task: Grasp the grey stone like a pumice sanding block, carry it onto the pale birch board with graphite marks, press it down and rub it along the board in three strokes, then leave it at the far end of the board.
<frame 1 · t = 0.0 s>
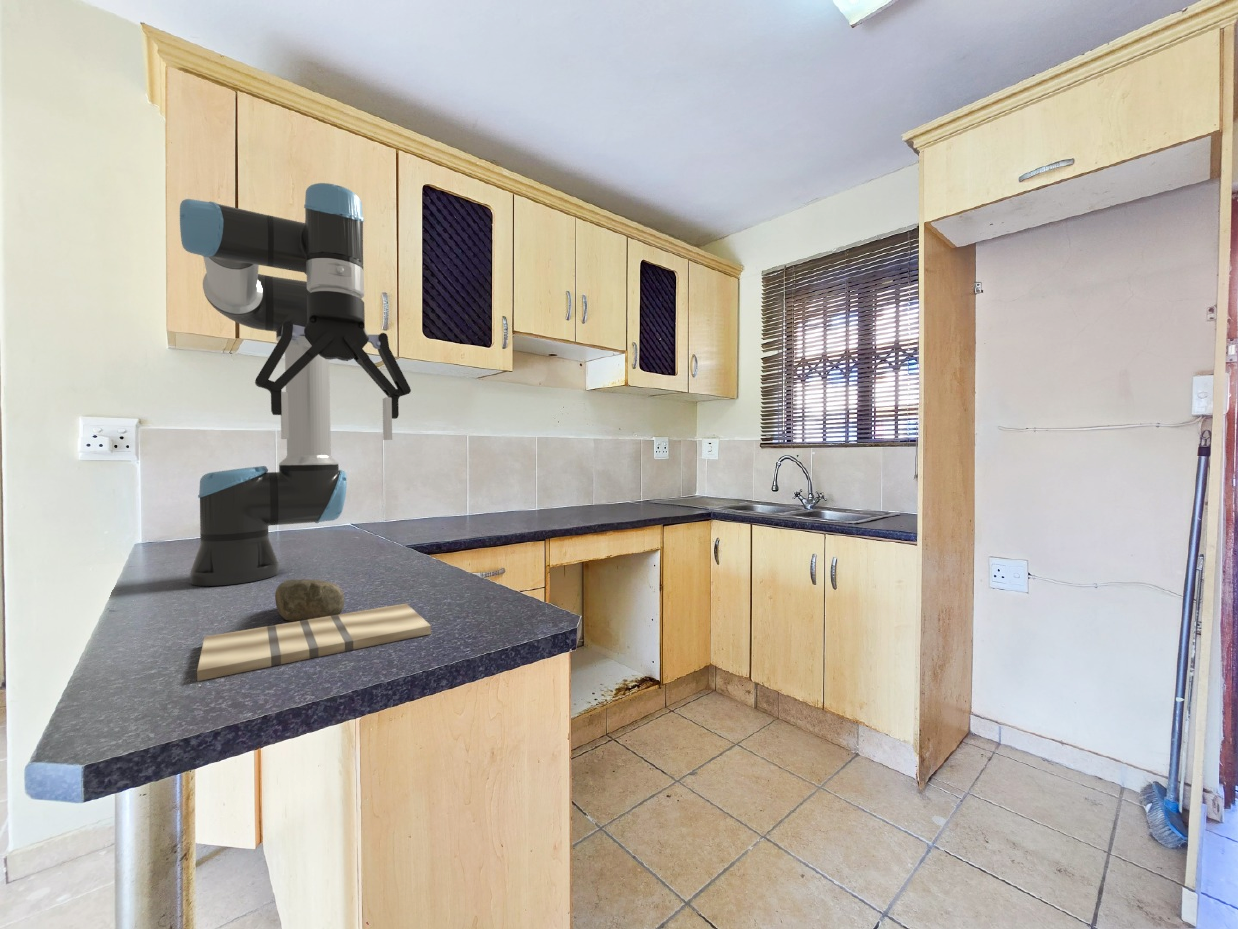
hand: (338, 439, 78), 28 cm above the table, fingers open, 13 cm apart
stone: (308, 615, 85), on the table
board: (320, 639, 73), on the table
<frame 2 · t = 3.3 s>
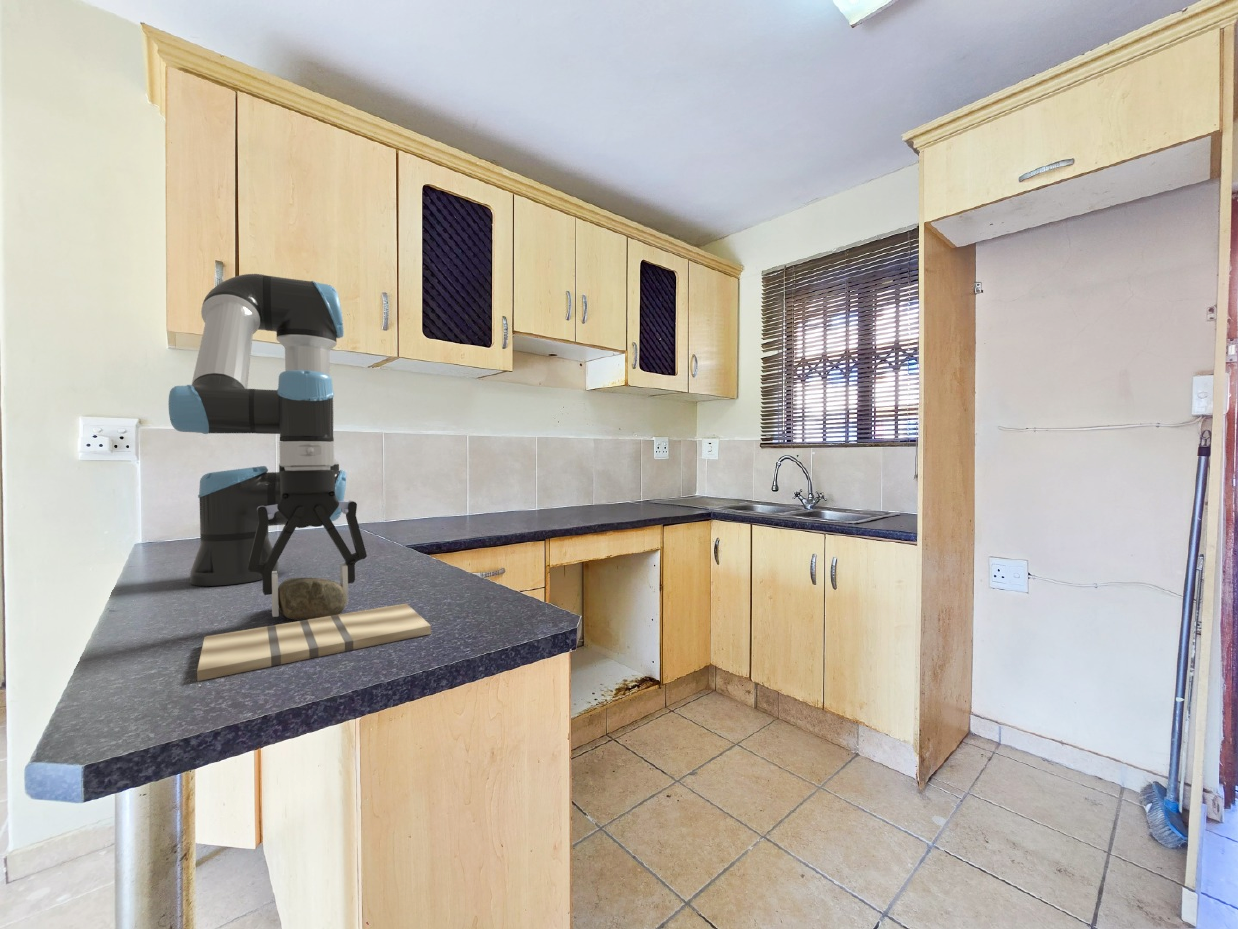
hand: (311, 608, 84), 1 cm above the table, fingers closed on stone, 9 cm apart
stone: (310, 614, 85), on the table, touching gripper
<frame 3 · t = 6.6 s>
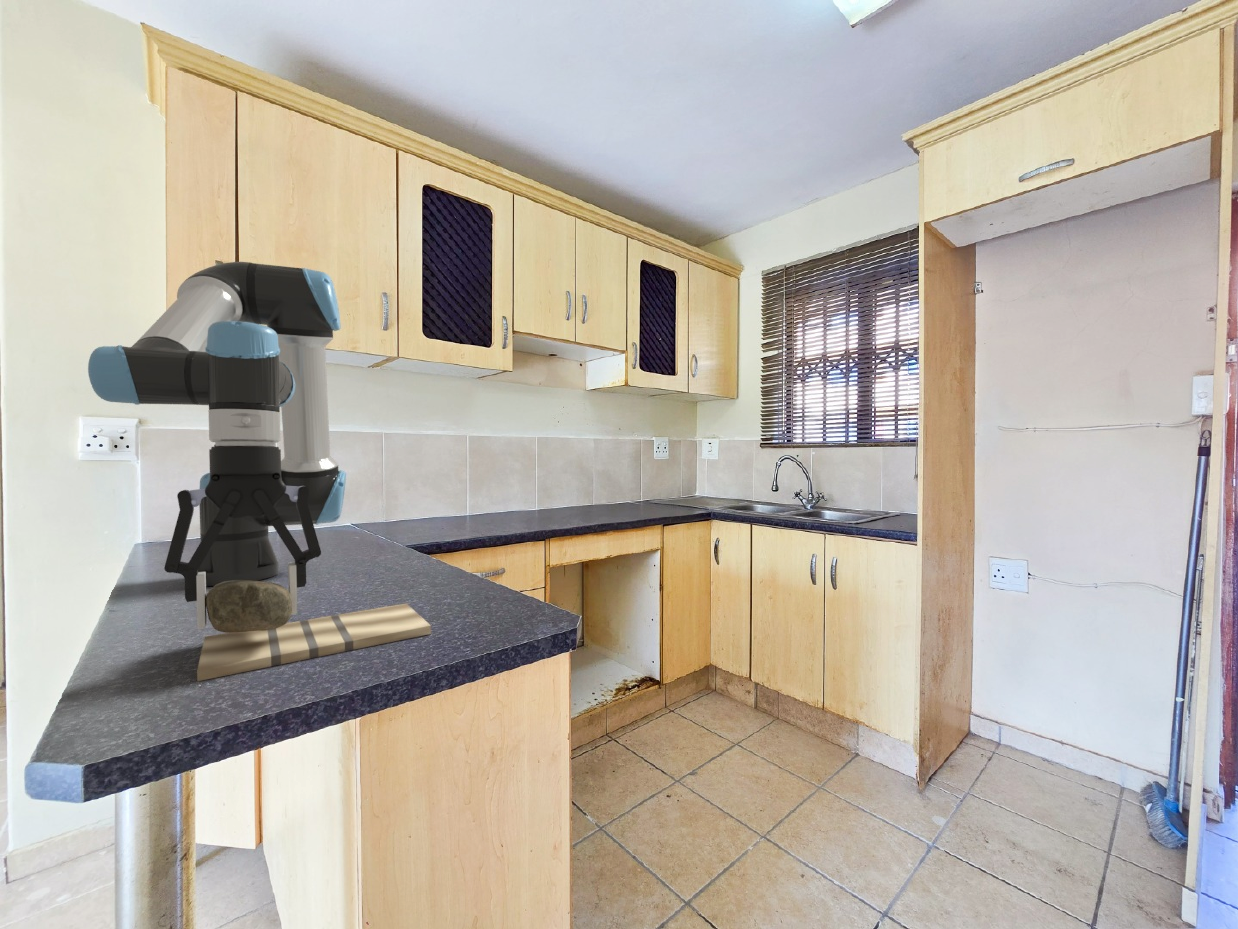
hand: (249, 618, 68), 5 cm above the table, fingers closed on stone, 9 cm apart
stone: (249, 625, 69), point 3 cm above the table, touching gripper
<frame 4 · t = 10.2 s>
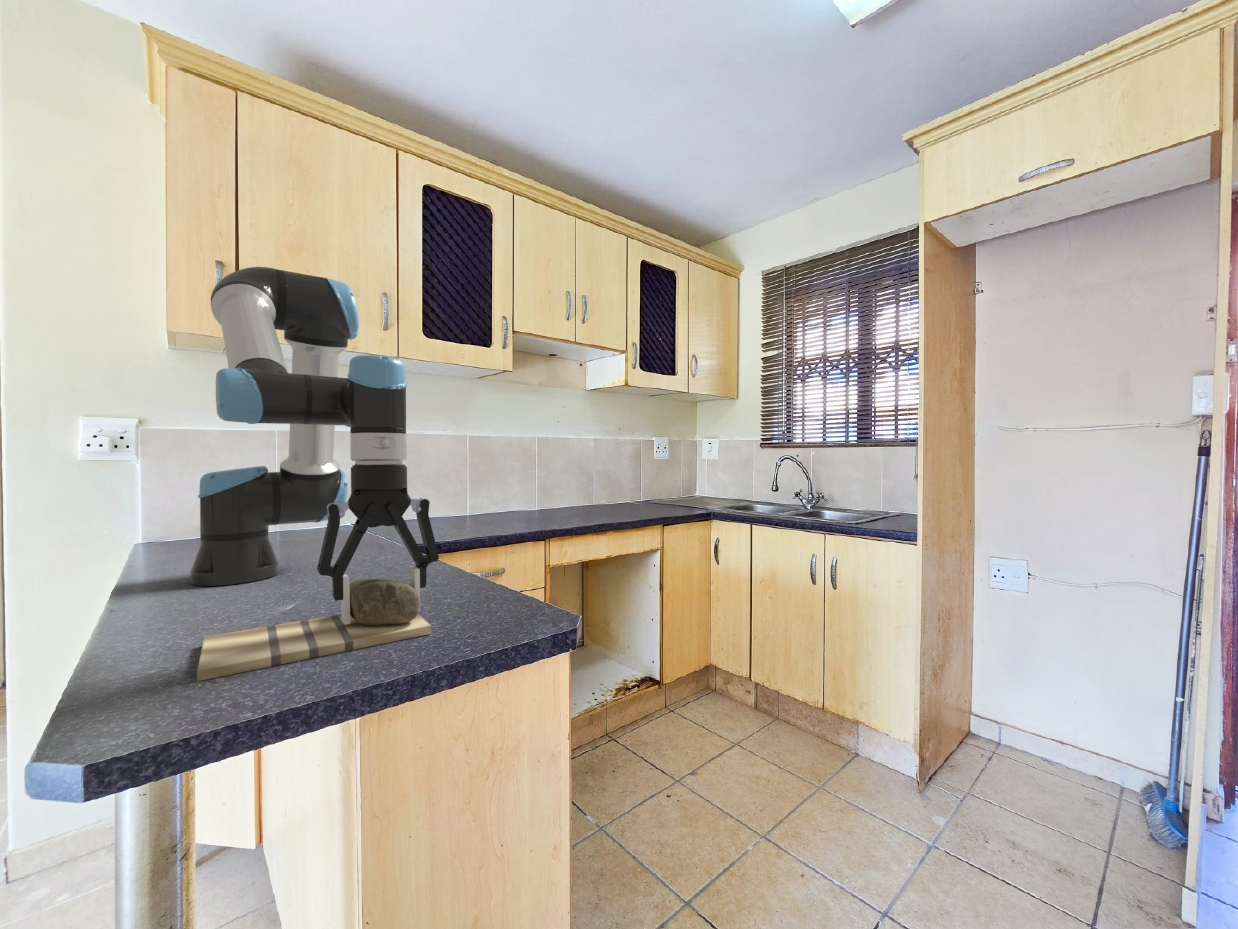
hand: (381, 615, 77), 2 cm above the table, fingers closed on stone, 9 cm apart
stone: (380, 618, 78), point 1 cm above the table, touching gripper
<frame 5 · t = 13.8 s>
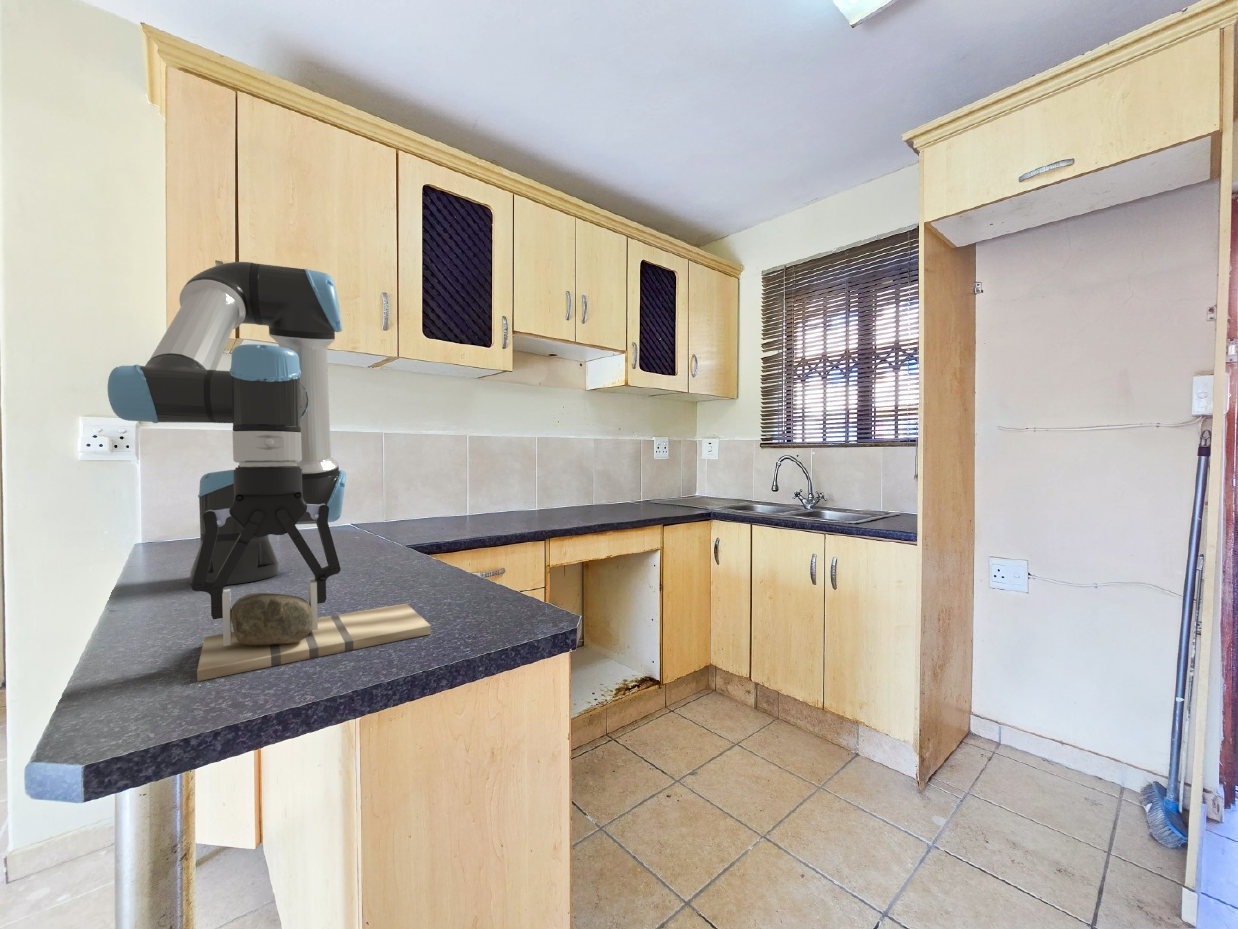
hand: (272, 634, 69), 2 cm above the table, fingers closed on stone, 9 cm apart
stone: (272, 637, 71), point 1 cm above the table, touching gripper
when the fingers open (2 cm above the table, at t = 17.1 s): stone stays where it is, resting on board.
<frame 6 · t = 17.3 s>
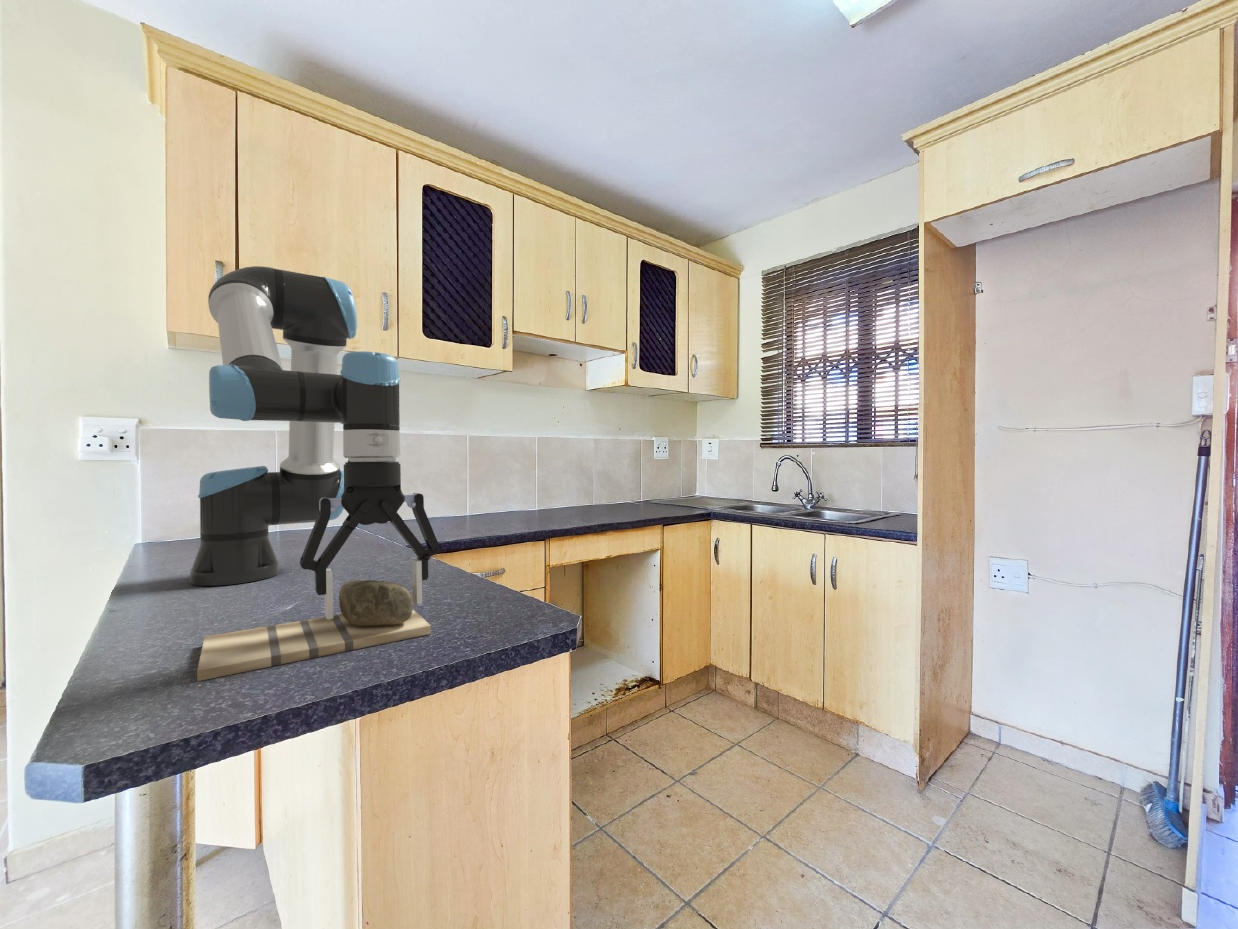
hand: (375, 609, 77), 3 cm above the table, fingers open, 11 cm apart
stone: (373, 620, 78), point 1 cm above the table, touching board
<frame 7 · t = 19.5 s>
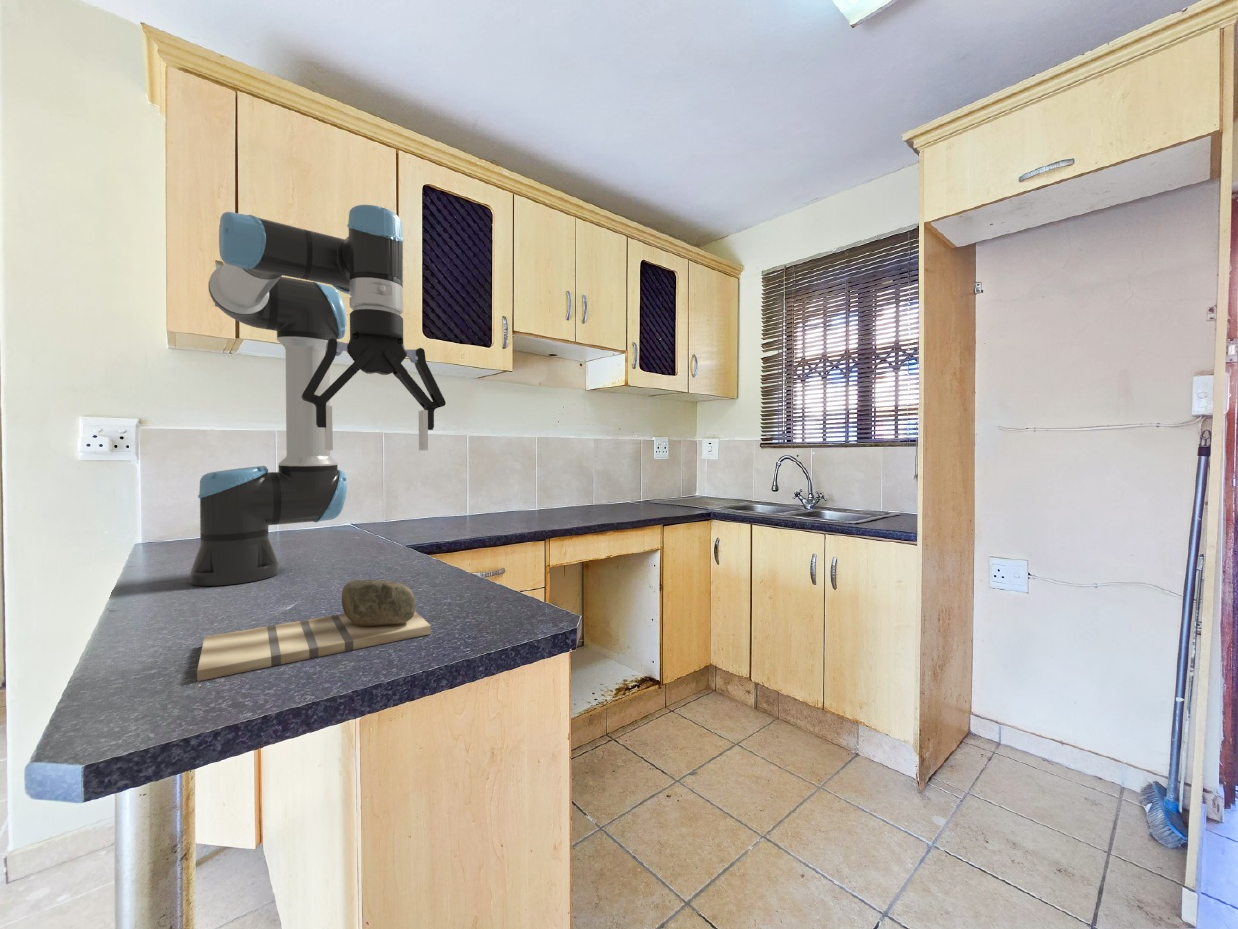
hand: (378, 450, 81), 26 cm above the table, fingers open, 13 cm apart
nothing on the table moved.
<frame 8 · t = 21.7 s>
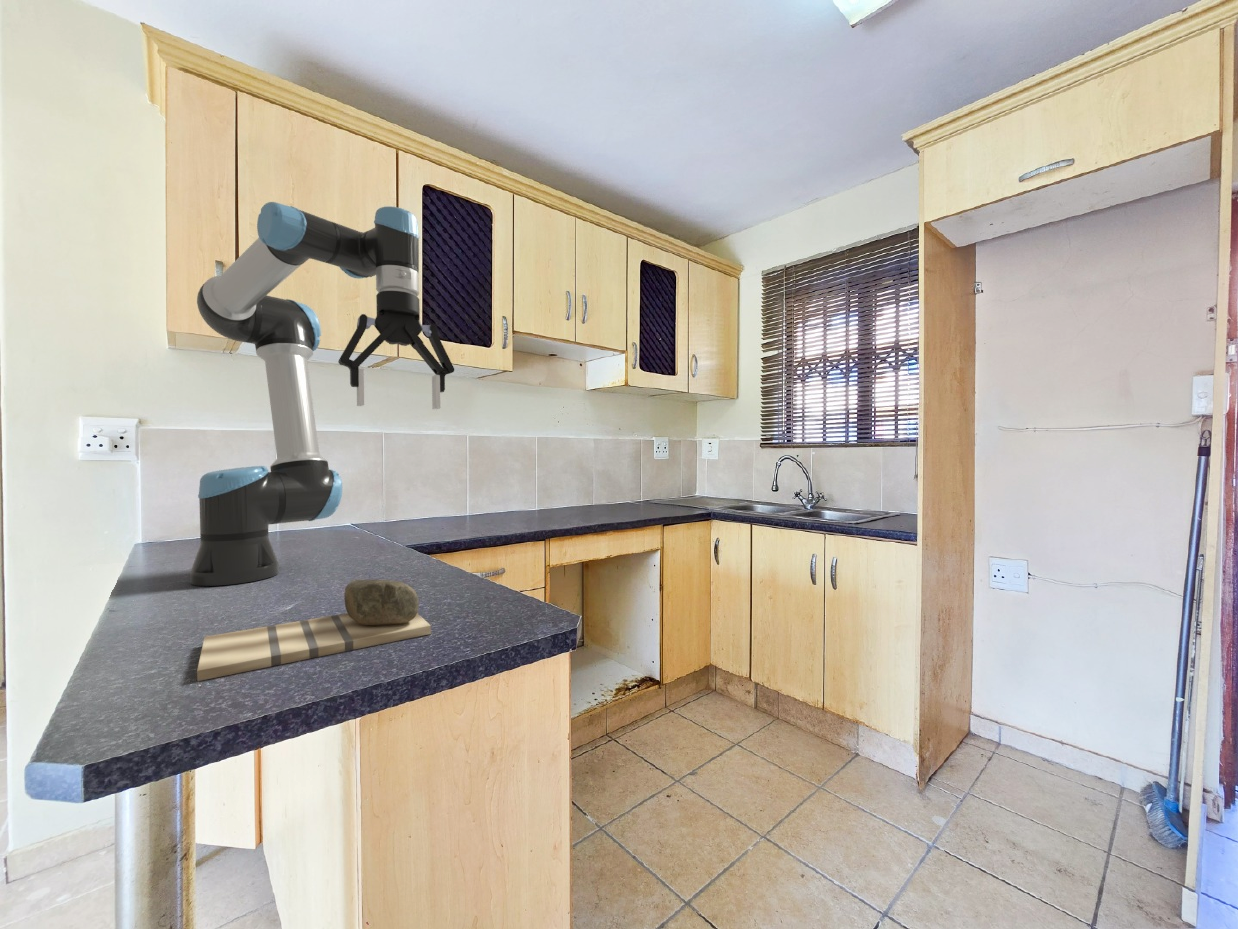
hand: (399, 407, 99), 35 cm above the table, fingers open, 13 cm apart
nothing on the table moved.
at the end: stone inside the target area (2.1 cm from its centre), point 1.0 cm above the table; stone moved 15.8 cm from its start; the gripper is holding nothing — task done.
